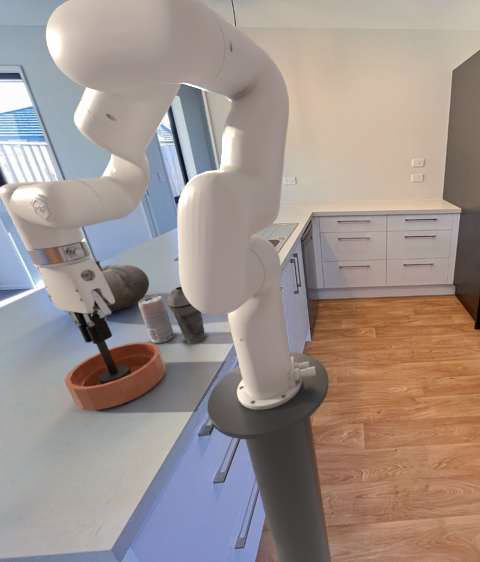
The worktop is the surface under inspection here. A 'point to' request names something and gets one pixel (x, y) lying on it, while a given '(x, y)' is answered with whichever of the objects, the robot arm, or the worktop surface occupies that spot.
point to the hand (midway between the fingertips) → (99, 339)
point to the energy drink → (156, 319)
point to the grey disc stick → (111, 366)
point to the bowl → (144, 376)
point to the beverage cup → (186, 316)
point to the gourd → (124, 284)
